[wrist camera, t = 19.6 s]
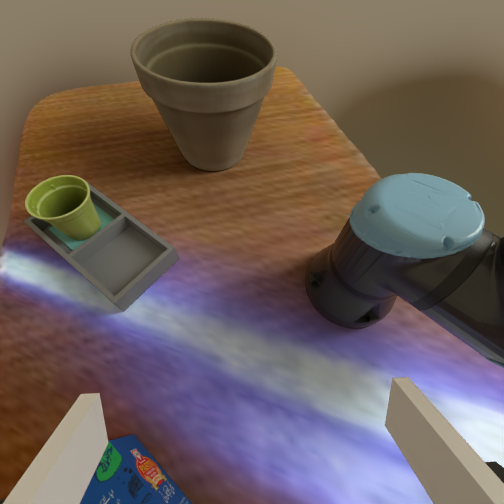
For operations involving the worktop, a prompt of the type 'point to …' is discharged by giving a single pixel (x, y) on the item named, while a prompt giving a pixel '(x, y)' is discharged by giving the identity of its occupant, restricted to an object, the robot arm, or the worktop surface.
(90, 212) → the plant pot
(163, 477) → the pasta box
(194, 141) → the plant pot
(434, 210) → the robot arm
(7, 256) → the worktop surface
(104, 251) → the tray
